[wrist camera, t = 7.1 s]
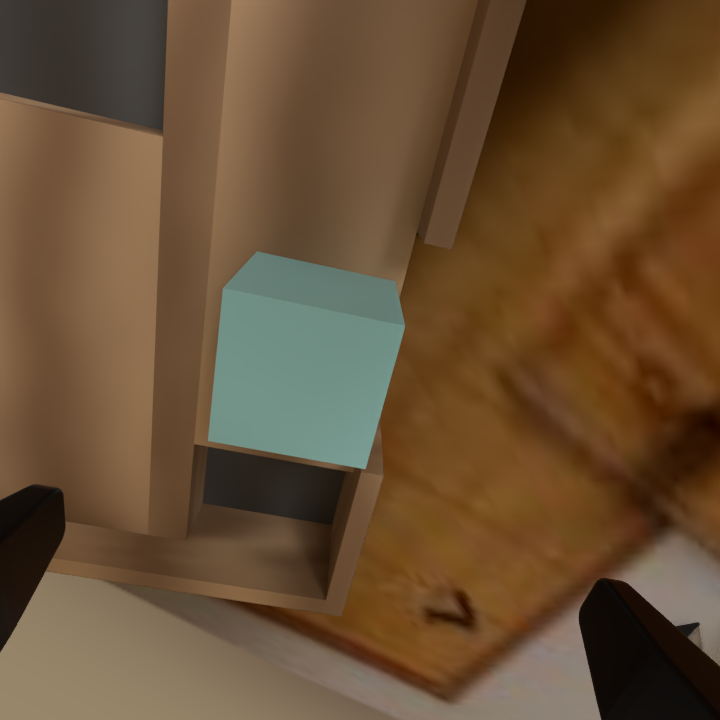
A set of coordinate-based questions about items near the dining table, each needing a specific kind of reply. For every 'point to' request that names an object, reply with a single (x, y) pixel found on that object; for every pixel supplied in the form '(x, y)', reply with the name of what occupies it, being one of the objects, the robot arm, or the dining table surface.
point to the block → (304, 359)
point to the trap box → (211, 255)
